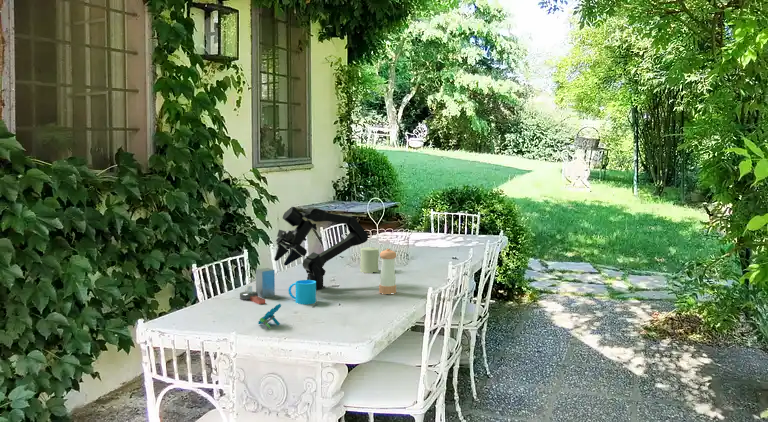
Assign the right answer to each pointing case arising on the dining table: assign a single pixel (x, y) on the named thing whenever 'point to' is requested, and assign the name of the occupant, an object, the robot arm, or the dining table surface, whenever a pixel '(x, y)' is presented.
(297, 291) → the mug
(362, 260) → the can
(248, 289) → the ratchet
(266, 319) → the teal plastic angular piece
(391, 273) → the salt shaker
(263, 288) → the grey blue box
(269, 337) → the dining table surface
